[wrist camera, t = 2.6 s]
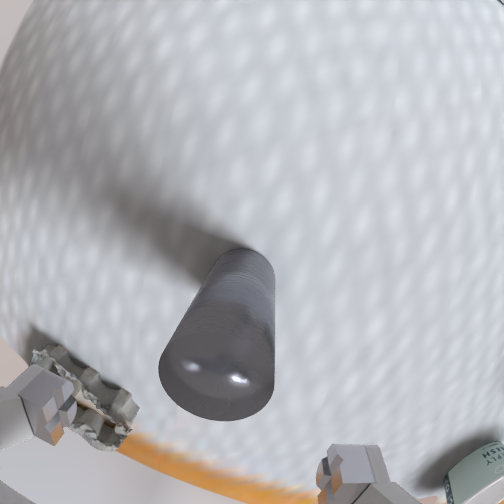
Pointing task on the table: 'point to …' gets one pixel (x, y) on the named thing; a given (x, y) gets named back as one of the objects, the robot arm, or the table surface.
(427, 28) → the table surface
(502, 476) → the food container
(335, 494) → the robot arm
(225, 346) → the peg
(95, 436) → the egg carton
